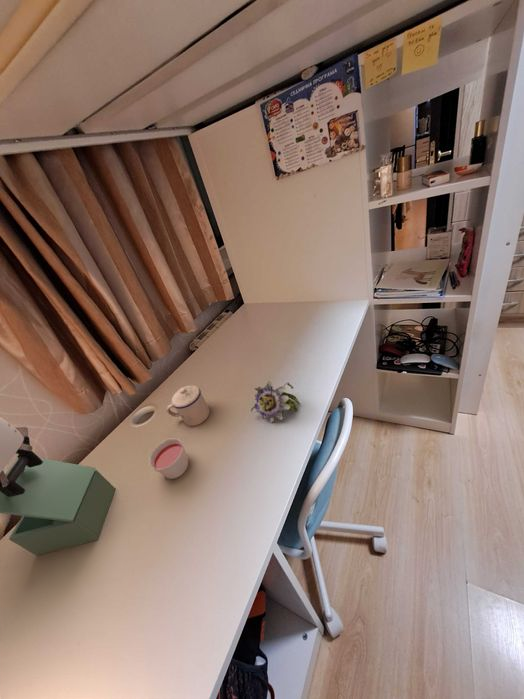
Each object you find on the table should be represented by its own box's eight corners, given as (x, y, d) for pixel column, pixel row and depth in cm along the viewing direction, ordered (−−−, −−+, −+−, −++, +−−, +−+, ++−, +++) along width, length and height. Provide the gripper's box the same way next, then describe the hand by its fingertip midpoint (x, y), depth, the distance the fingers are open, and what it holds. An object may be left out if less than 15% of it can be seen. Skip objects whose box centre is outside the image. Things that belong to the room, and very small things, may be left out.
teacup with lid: (210, 401, 95) (197, 375, 89) (210, 421, 87) (195, 394, 81) (176, 412, 95) (160, 387, 89) (173, 433, 88) (155, 407, 81)
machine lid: (-20, 510, 56) (-20, 495, 54) (19, 456, 67) (20, 441, 64) (72, 522, 61) (76, 508, 59) (95, 469, 72) (99, 456, 70)
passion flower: (277, 432, 84) (244, 417, 79) (279, 401, 91) (248, 385, 86) (304, 419, 77) (270, 401, 72) (304, 386, 84) (272, 367, 80)
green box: (36, 555, 67) (8, 539, 63) (62, 502, 78) (40, 485, 73) (97, 540, 66) (74, 522, 61) (115, 488, 77) (96, 469, 72)
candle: (156, 466, 79) (145, 453, 75) (186, 446, 82) (176, 432, 78) (166, 490, 72) (154, 476, 69) (197, 467, 75) (187, 453, 72)
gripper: (-25, 396, 60) (34, 449, 69) (-106, 470, 45) (-17, 524, 55) (8, 387, 59) (63, 442, 69) (-63, 459, 45) (19, 515, 55)
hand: (27, 478), depth 62 cm, fingers closed on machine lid, 6 cm apart
